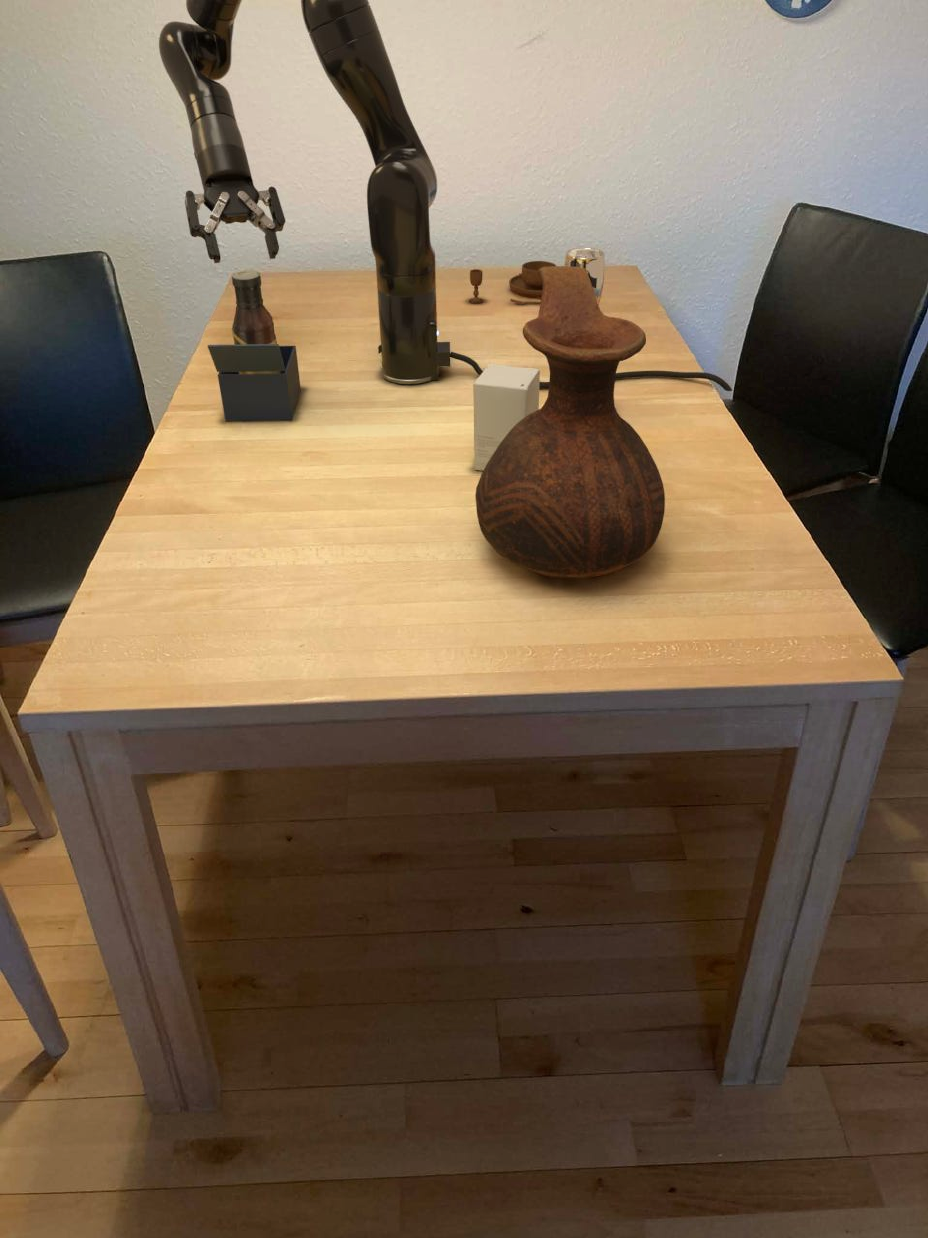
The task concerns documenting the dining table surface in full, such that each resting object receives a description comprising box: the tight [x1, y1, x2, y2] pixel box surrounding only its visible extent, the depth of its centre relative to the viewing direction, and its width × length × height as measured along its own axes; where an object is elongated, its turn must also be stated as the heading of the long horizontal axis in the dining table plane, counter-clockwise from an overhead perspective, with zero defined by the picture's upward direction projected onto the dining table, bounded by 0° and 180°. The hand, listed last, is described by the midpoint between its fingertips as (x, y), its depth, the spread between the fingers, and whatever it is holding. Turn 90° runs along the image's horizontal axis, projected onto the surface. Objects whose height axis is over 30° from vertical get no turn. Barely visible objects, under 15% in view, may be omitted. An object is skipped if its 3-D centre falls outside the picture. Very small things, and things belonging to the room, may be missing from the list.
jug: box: [475, 265, 666, 579], centre depth 102 cm, size 22×22×30 cm
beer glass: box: [564, 247, 605, 307], centre depth 163 cm, size 7×7×15 cm
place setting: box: [468, 260, 557, 305], centre depth 188 cm, size 18×20×6 cm
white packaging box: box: [472, 363, 541, 472], centre depth 126 cm, size 7×7×13 cm
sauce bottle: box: [231, 269, 281, 374], centre depth 139 cm, size 6×6×20 cm
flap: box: [207, 343, 285, 373], centre depth 133 cm, size 10×6×1 cm
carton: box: [217, 345, 302, 422], centre depth 143 cm, size 10×12×7 cm
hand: (246, 258), depth 142 cm, fingers open, 8 cm apart
